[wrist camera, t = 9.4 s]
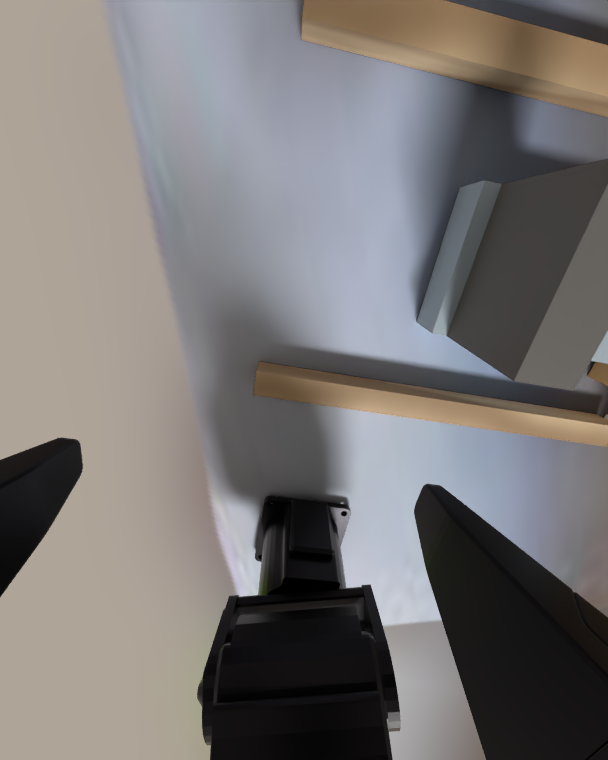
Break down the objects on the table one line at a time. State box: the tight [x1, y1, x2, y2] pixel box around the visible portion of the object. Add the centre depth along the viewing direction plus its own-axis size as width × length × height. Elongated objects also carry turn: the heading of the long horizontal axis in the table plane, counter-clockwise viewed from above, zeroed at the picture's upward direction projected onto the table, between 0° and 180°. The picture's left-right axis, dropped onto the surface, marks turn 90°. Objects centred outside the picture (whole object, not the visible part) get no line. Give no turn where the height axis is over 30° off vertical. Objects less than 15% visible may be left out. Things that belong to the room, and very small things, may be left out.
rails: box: [253, 0, 608, 447], centre depth 18 cm, size 18×23×2 cm
